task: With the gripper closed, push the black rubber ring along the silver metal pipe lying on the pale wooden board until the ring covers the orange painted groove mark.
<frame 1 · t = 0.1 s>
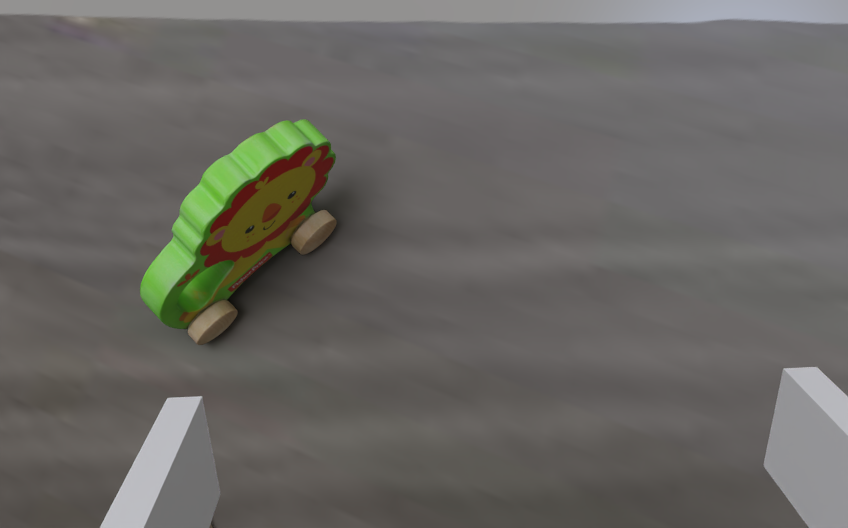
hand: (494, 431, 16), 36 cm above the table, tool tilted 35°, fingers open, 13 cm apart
toy lion: (264, 255, 54), on the table
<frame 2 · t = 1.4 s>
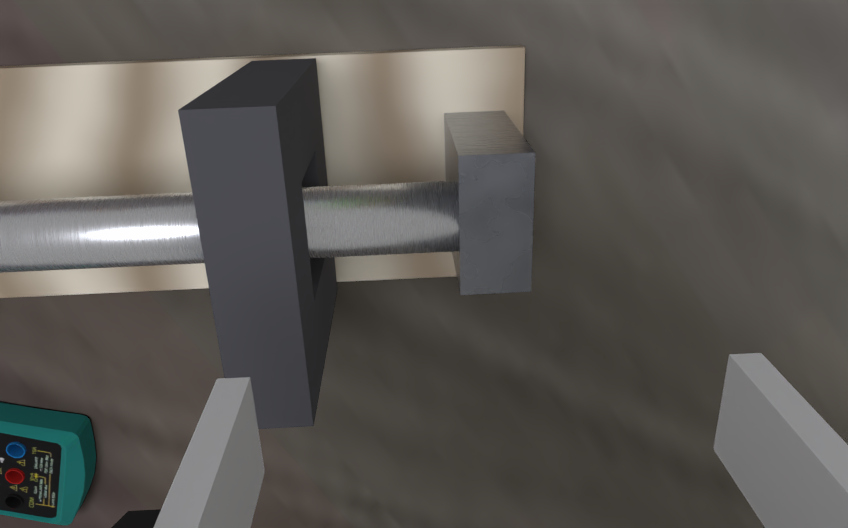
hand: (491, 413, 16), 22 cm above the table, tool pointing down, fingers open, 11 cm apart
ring: (279, 224, 29), point 8 cm above the table, slide at -8.0 cm
board: (149, 178, 36), on the table
pipe: (111, 212, 32), on the board, point 5 cm above the table
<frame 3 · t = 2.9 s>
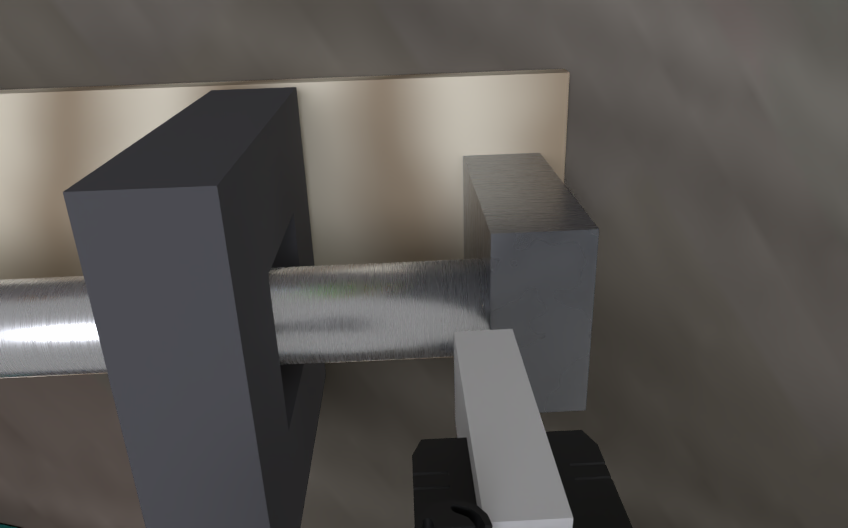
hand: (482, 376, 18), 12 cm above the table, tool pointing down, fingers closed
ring: (242, 317, 21), point 8 cm above the table, slide at -8.0 cm
board: (86, 235, 29), on the table
pipe: (22, 292, 24), on the board, point 5 cm above the table
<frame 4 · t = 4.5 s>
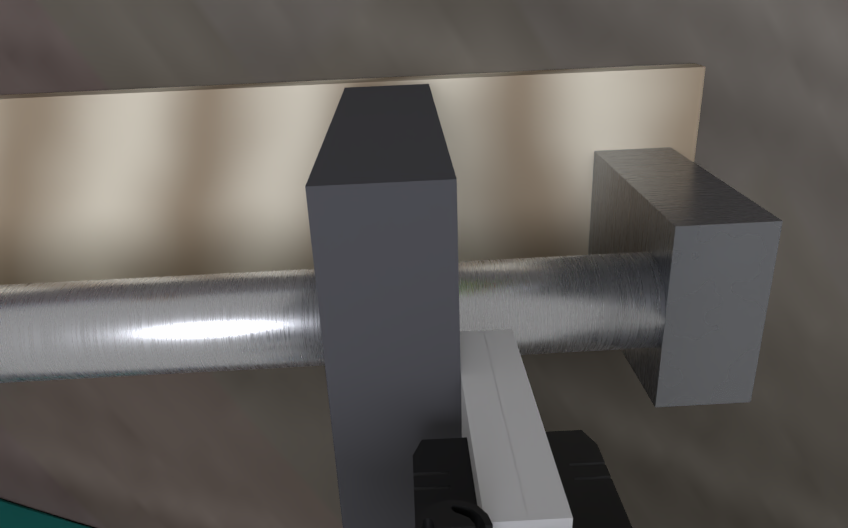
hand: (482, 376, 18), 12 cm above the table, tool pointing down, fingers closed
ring: (396, 312, 22), point 8 cm above the table, slide at -7.6 cm, touching gripper
board: (212, 233, 29), on the table
pipe: (175, 289, 24), on the board, point 5 cm above the table
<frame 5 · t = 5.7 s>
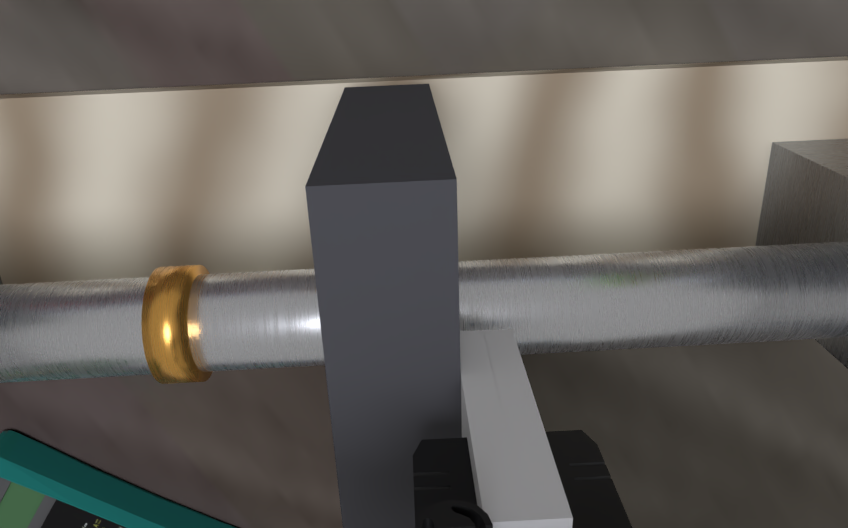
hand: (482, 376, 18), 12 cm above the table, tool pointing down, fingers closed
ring: (396, 312, 22), point 8 cm above the table, slide at -0.6 cm, touching gripper
board: (381, 225, 29), on the table
pipe: (379, 278, 24), on the board, point 5 cm above the table
digital multimeter: (123, 525, 36), on the table
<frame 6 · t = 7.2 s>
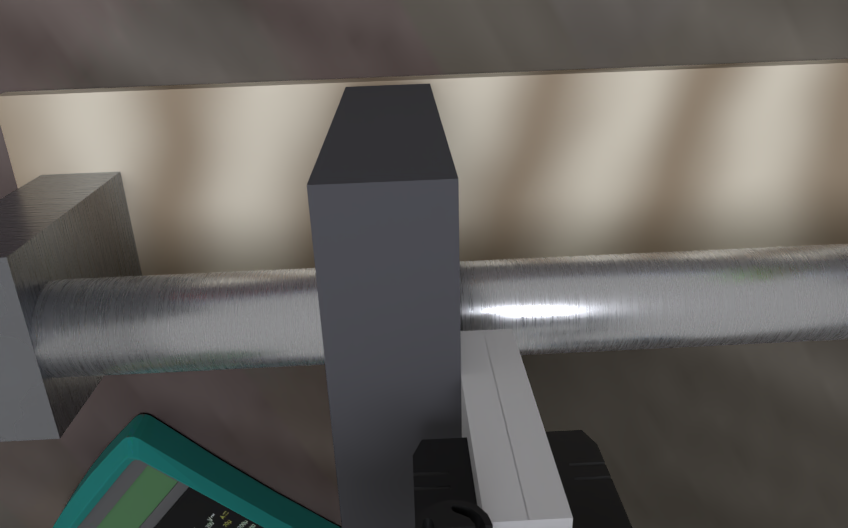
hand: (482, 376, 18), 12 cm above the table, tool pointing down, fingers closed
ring: (396, 312, 22), point 8 cm above the table, slide at 5.1 cm, touching gripper
board: (517, 218, 29), on the table
pipe: (542, 271, 24), on the board, point 5 cm above the table
digital multimeter: (230, 518, 36), on the table
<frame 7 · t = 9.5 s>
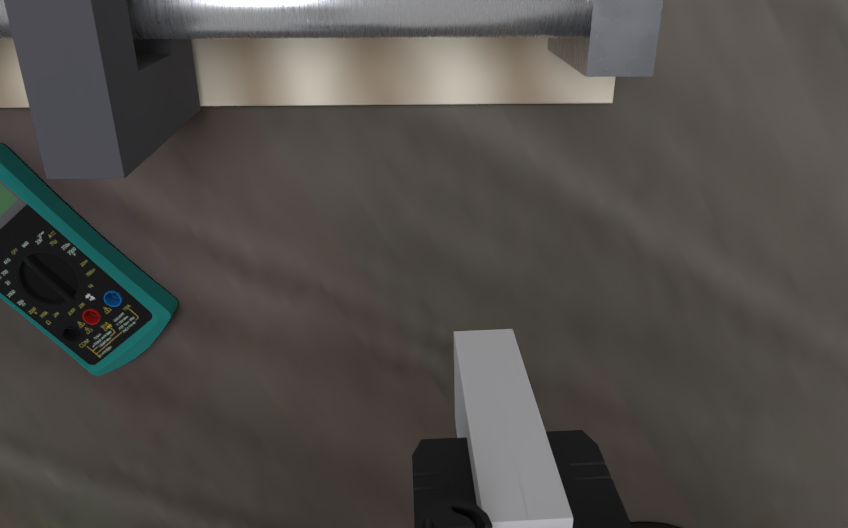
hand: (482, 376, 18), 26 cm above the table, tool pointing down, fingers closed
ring: (112, 2, 30), point 8 cm above the table, slide at 5.2 cm
digital multimeter: (62, 255, 44), on the table
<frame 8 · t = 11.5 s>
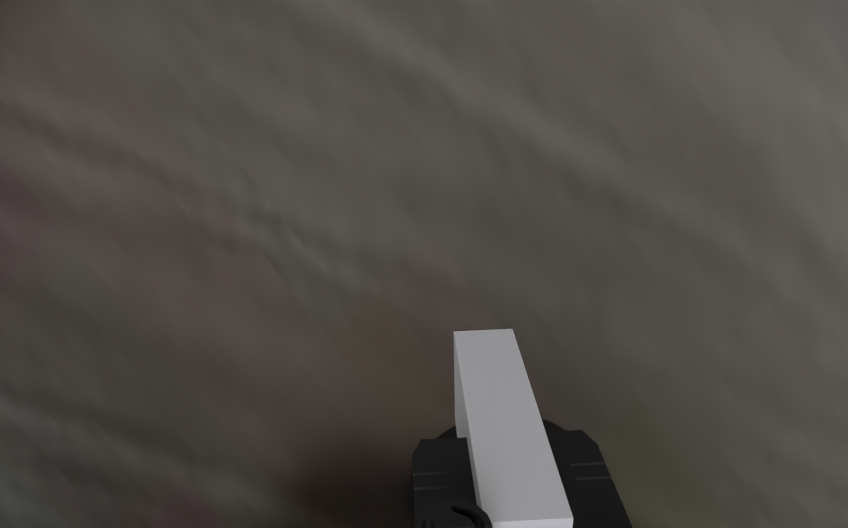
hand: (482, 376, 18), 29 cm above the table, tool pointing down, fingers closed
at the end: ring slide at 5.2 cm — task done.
